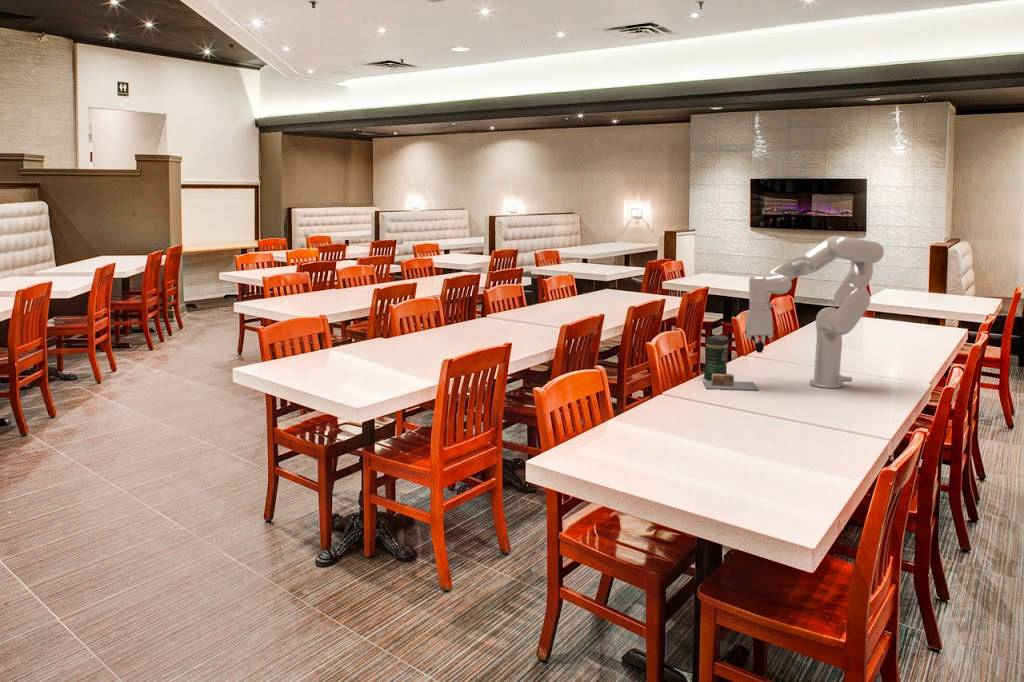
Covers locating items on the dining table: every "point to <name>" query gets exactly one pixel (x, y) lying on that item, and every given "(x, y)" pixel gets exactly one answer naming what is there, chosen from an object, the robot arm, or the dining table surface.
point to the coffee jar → (716, 356)
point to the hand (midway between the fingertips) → (759, 352)
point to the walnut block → (722, 379)
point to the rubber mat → (736, 386)
